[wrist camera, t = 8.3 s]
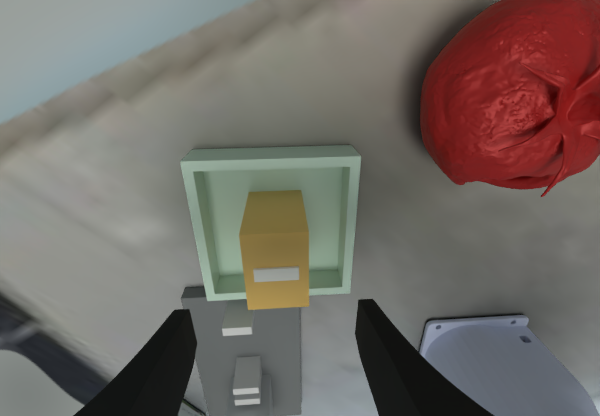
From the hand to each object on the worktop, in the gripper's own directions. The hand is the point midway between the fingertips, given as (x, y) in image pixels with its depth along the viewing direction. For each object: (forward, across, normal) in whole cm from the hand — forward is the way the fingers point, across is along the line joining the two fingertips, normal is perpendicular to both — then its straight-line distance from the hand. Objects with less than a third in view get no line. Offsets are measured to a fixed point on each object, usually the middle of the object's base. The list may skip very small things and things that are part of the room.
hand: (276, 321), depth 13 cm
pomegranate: (+10, -13, -8) cm, 18 cm away
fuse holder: (+10, +3, +14) cm, 17 cm away
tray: (+10, 0, 0) cm, 10 cm away
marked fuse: (+9, 0, 0) cm, 9 cm away
